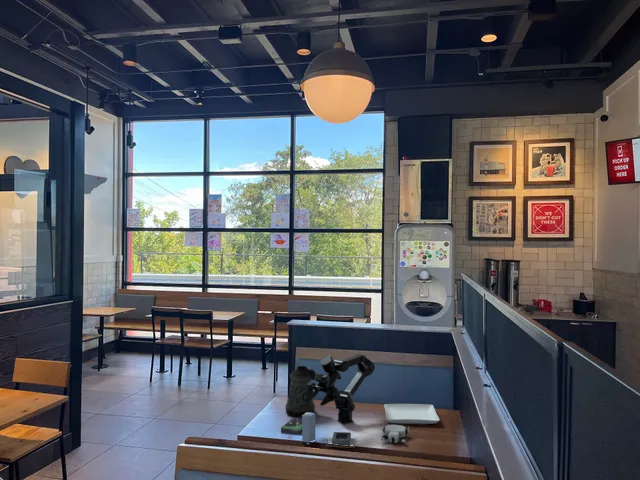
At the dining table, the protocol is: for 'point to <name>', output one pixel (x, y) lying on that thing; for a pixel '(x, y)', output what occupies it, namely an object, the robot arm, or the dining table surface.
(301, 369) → the beer stein
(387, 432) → the robot toy
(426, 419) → the square plate
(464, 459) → the dining table surface
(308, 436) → the light blue tall block
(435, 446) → the dining table surface
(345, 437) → the frame
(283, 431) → the disk drive
